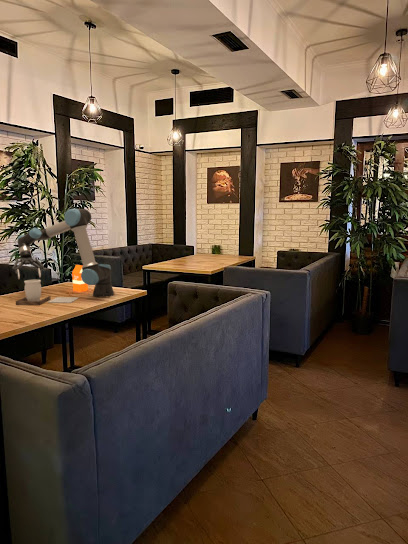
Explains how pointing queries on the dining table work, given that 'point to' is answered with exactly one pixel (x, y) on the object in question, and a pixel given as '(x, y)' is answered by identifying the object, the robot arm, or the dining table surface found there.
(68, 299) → the grey mat
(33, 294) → the jar
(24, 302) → the dark brown wooden board
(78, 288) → the orange juice
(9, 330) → the dining table surface
